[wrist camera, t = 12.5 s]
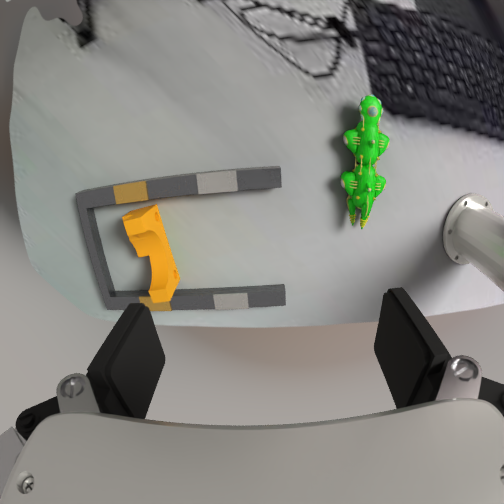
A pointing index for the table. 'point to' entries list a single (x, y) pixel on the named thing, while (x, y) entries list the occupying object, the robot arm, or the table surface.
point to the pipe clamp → (153, 250)
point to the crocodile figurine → (365, 159)
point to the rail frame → (169, 188)
